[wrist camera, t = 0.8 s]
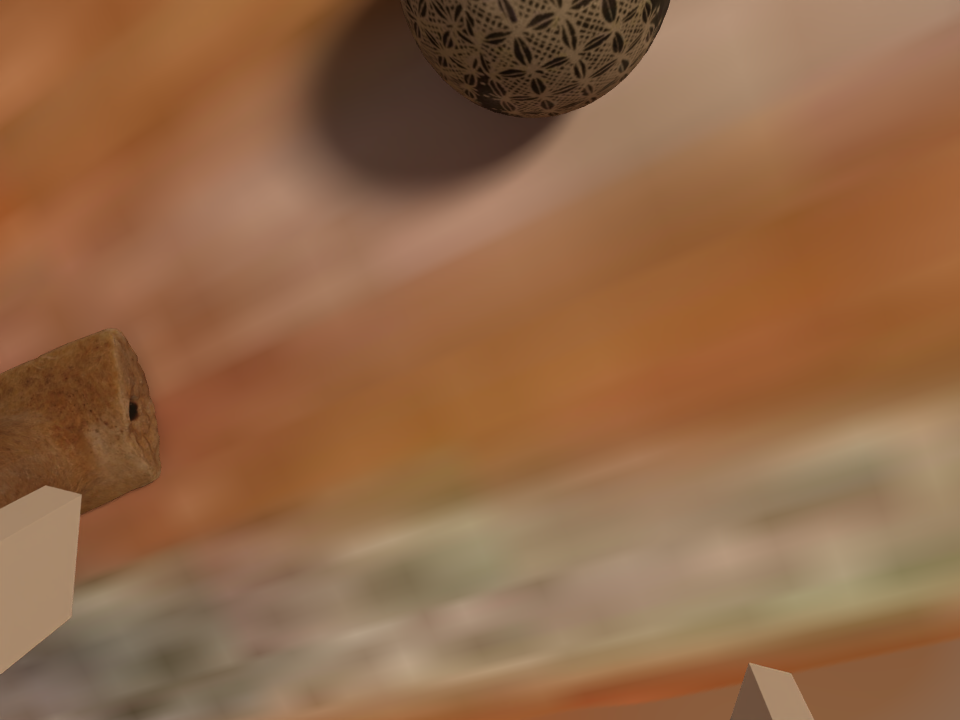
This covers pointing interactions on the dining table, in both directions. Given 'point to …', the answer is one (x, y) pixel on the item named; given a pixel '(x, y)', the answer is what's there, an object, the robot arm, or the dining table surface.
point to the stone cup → (78, 423)
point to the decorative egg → (534, 48)
